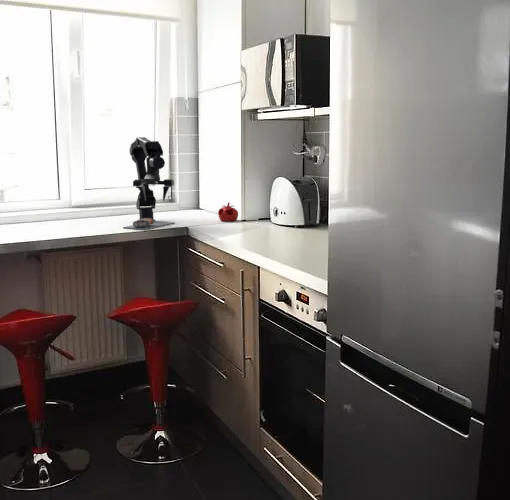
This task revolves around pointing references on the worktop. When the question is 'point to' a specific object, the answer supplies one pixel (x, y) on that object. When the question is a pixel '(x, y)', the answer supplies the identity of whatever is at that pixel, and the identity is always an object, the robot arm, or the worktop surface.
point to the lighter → (143, 222)
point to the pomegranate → (228, 213)
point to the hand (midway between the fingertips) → (154, 200)
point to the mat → (155, 224)
